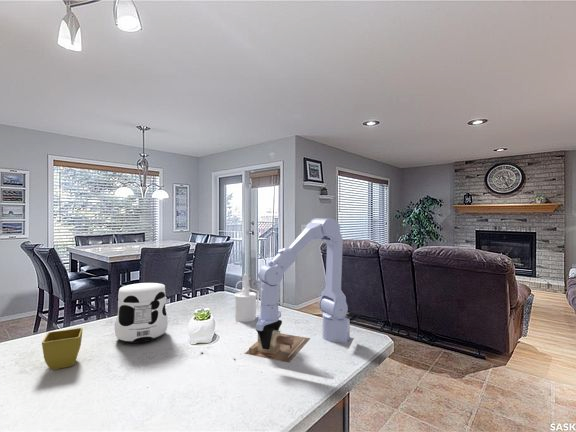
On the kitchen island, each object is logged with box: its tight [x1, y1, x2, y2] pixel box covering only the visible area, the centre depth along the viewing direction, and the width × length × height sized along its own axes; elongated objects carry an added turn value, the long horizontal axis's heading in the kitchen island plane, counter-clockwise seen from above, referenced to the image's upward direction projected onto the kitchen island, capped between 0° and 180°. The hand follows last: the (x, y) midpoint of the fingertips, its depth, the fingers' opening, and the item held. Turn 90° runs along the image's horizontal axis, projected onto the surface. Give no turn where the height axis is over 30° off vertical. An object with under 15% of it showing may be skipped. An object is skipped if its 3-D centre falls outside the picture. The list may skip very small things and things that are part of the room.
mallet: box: [257, 330, 294, 355], centre depth 100 cm, size 11×4×6 cm, turn 68°
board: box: [244, 332, 311, 363], centre depth 105 cm, size 15×20×3 cm
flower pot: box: [41, 327, 84, 371], centre depth 93 cm, size 9×9×9 cm
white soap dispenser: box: [233, 273, 260, 324], centre depth 132 cm, size 10×9×20 cm
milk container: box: [114, 282, 169, 344], centre depth 114 cm, size 17×17×18 cm
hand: (268, 346), depth 101 cm, fingers closed on mallet, 4 cm apart
